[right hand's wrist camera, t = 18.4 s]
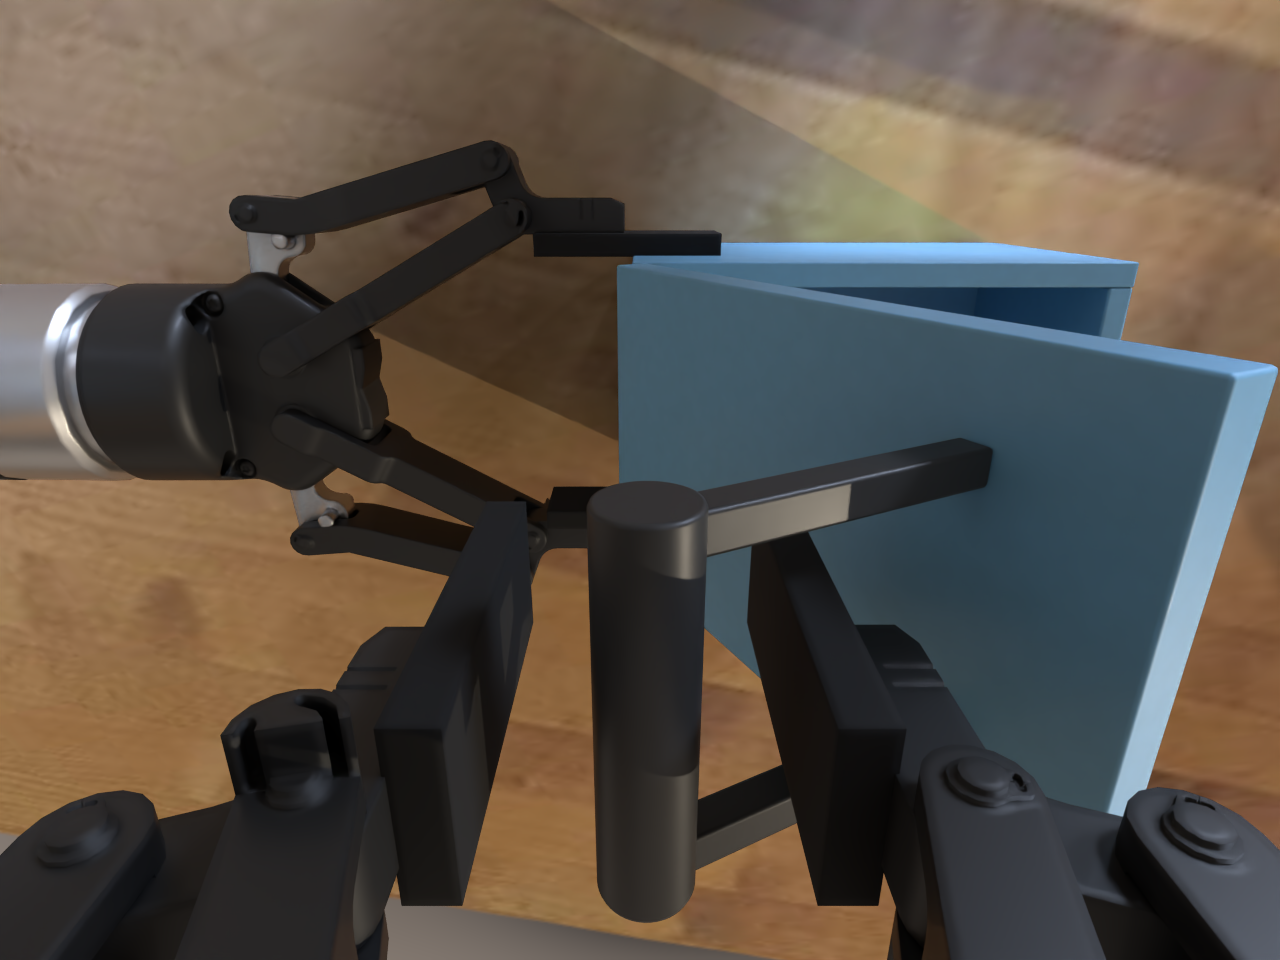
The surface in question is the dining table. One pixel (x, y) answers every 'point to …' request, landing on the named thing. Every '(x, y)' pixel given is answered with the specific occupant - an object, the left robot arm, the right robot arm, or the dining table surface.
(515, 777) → the dining table surface
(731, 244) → the chest
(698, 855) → the lid
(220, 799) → the dining table surface
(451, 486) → the left robot arm
